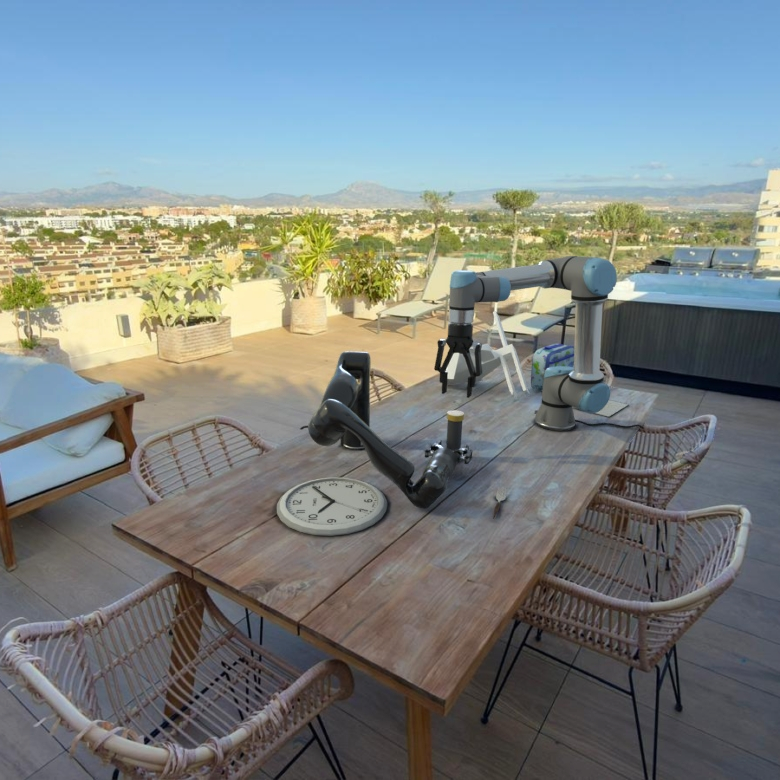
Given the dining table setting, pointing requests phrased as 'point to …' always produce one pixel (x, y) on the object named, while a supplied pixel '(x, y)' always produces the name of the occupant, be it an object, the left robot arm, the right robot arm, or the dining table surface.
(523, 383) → the white plastic object
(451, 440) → the dark grey cylinder
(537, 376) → the lunch box
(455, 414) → the lid
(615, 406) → the invitation card
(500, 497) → the fork
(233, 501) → the dining table surface
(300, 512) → the wall clock
